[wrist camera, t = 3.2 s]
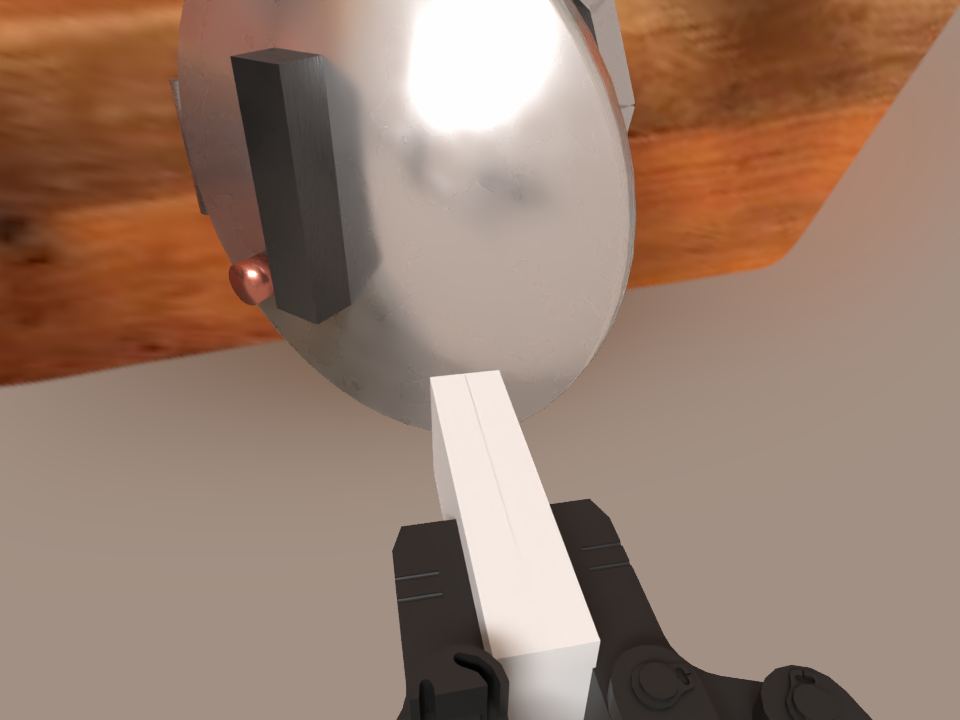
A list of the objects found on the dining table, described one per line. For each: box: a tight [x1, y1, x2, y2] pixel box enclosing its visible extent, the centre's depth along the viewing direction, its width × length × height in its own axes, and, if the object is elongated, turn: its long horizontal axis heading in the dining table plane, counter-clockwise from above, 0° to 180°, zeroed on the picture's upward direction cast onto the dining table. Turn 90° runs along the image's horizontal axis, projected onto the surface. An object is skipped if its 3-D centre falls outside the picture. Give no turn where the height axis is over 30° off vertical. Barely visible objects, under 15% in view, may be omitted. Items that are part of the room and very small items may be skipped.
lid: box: [169, 0, 636, 431], centre depth 26 cm, size 22×21×3 cm
